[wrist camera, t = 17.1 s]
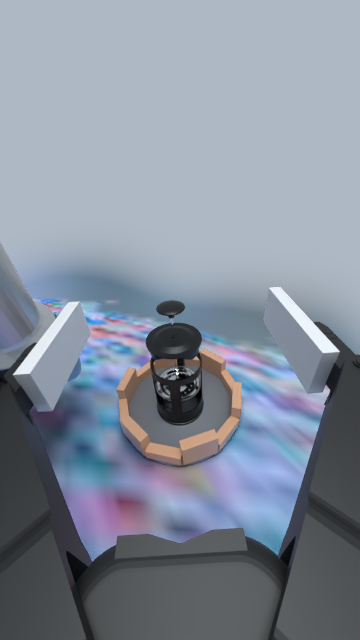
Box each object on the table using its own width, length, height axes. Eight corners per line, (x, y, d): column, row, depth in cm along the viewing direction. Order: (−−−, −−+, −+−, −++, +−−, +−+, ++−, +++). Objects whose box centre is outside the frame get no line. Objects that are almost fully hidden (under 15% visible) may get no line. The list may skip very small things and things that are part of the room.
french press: (204, 429, 41) (203, 326, 28) (153, 429, 42) (129, 327, 29) (202, 379, 51) (201, 285, 38) (161, 379, 51) (146, 287, 39)
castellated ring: (100, 450, 40) (91, 432, 37) (146, 358, 59) (143, 341, 56) (237, 481, 35) (240, 464, 32) (239, 369, 54) (241, 351, 51)
